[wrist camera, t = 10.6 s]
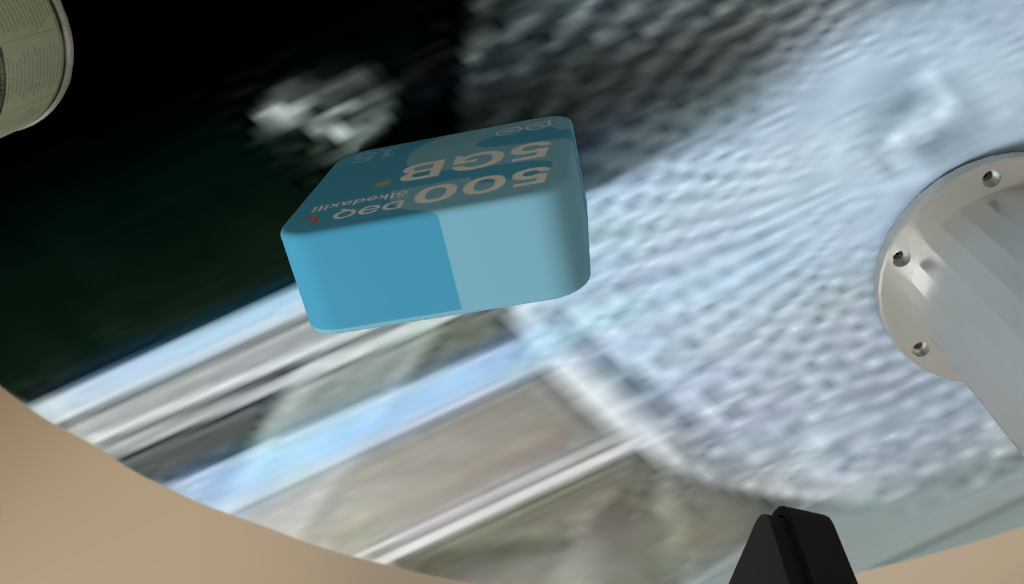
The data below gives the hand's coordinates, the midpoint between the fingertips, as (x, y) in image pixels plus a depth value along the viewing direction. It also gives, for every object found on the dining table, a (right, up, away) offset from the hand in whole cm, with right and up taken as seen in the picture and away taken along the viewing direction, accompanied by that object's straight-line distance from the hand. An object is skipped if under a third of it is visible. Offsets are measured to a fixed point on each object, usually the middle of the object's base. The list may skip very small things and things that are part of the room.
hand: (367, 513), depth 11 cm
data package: (-1, +9, +34) cm, 36 cm away
